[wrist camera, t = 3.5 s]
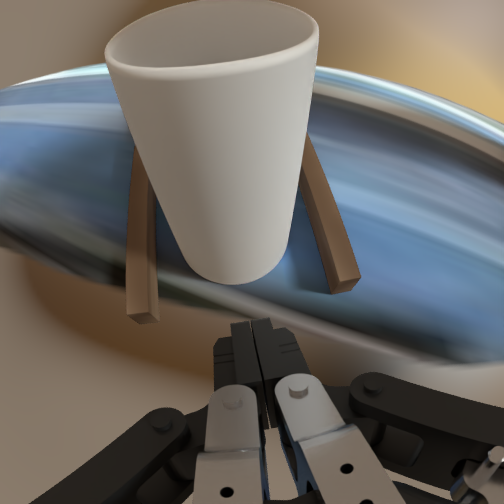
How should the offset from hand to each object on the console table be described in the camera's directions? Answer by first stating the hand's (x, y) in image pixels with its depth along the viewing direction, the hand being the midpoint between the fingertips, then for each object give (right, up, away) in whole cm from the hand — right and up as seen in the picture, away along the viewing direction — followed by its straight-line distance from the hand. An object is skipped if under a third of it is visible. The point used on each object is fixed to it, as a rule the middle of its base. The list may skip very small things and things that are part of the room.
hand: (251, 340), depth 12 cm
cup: (-1, +5, +12) cm, 13 cm away
